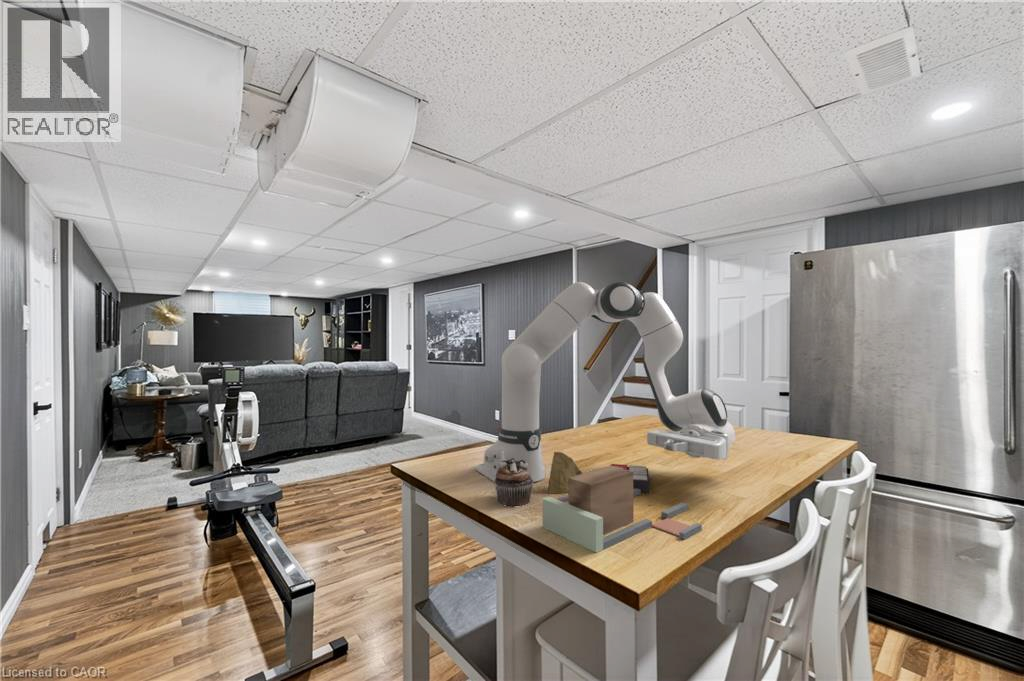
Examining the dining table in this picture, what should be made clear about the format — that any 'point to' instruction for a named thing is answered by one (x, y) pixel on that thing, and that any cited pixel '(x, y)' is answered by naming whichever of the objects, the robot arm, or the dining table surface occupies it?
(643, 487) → the calculator
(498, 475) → the cupcake
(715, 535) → the dining table surface
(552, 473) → the rock
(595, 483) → the walnut block
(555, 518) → the green panel rail frame
